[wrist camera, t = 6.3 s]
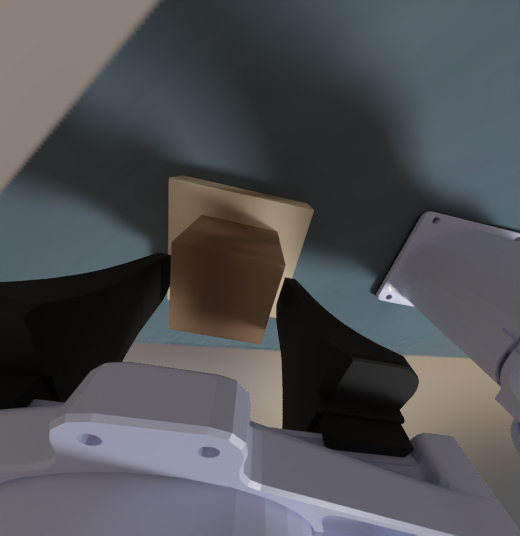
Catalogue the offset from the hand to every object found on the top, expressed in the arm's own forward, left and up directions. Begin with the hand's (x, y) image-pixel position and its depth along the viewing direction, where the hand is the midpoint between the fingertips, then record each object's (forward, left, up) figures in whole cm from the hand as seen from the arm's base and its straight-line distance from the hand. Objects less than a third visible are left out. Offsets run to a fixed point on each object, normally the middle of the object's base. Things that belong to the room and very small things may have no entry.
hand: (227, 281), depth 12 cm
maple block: (0, 0, -6) cm, 6 cm away
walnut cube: (0, 0, -3) cm, 3 cm away
